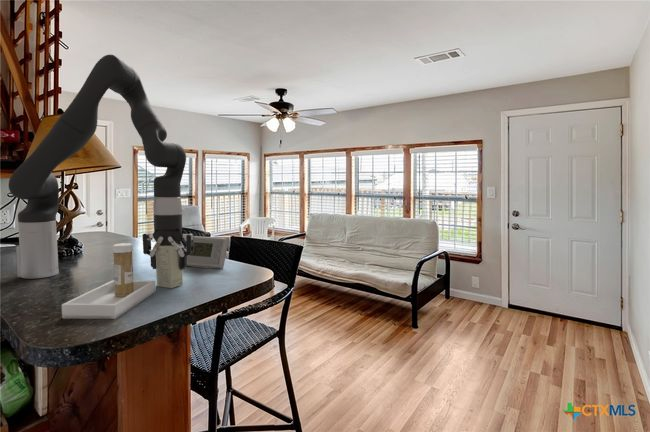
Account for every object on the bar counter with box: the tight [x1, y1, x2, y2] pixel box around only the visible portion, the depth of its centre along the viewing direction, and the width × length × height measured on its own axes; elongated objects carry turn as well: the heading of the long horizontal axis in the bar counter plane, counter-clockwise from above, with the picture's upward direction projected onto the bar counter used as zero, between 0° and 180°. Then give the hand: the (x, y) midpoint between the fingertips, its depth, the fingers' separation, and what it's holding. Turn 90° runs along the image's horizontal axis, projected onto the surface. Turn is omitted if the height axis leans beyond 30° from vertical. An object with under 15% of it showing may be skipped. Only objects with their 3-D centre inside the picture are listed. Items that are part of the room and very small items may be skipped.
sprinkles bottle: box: [112, 242, 134, 297], centre depth 93 cm, size 5×5×13 cm
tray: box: [61, 279, 157, 320], centre depth 88 cm, size 12×20×3 cm, turn 1°
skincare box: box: [155, 244, 183, 289], centre depth 104 cm, size 6×4×12 cm
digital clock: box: [186, 235, 229, 270], centre depth 129 cm, size 16×9×11 cm, turn 66°
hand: (169, 268), depth 104 cm, fingers closed on skincare box, 7 cm apart
